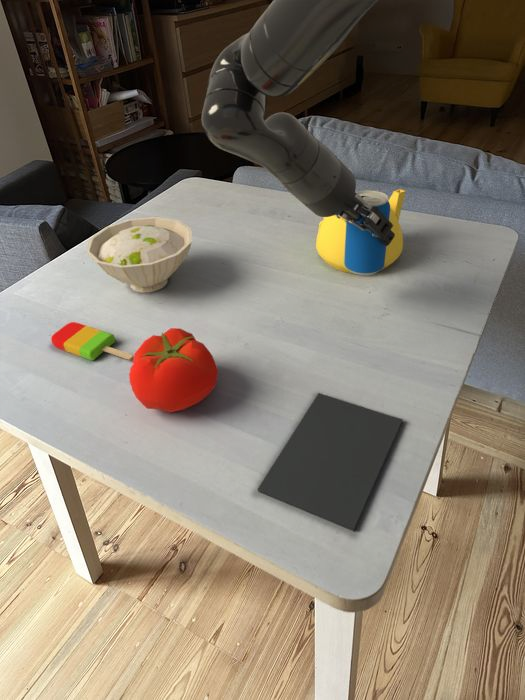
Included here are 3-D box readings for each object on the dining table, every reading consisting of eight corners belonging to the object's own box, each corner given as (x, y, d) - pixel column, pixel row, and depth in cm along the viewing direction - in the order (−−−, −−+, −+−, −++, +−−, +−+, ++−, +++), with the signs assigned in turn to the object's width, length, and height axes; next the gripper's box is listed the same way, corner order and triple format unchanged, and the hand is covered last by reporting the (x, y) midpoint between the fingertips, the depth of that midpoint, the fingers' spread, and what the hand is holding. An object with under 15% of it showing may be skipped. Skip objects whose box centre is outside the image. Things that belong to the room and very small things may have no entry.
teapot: (360, 287, 97) (365, 222, 89) (291, 251, 108) (290, 190, 100) (430, 250, 106) (440, 188, 98) (359, 220, 118) (363, 162, 110)
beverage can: (353, 255, 91) (357, 186, 84) (389, 262, 89) (397, 193, 81) (337, 272, 87) (340, 202, 80) (375, 281, 84) (382, 209, 77)
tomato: (204, 431, 71) (196, 384, 66) (120, 416, 74) (105, 369, 69) (233, 370, 81) (228, 324, 75) (158, 359, 84) (148, 314, 78)
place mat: (318, 395, 75) (318, 392, 75) (402, 422, 71) (402, 419, 70) (257, 491, 63) (257, 488, 63) (354, 531, 59) (354, 528, 58)
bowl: (105, 322, 92) (91, 271, 86) (91, 270, 106) (77, 223, 100) (212, 295, 97) (206, 245, 91) (185, 249, 111) (177, 203, 105)
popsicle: (74, 328, 91) (71, 319, 90) (143, 351, 85) (141, 342, 84) (50, 346, 87) (46, 337, 86) (121, 372, 81) (118, 363, 80)
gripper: (368, 167, 67) (422, 227, 80) (300, 140, 77) (357, 197, 89) (333, 218, 69) (392, 270, 81) (271, 185, 78) (331, 236, 90)
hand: (373, 231), depth 85 cm, fingers closed on beverage can, 6 cm apart
